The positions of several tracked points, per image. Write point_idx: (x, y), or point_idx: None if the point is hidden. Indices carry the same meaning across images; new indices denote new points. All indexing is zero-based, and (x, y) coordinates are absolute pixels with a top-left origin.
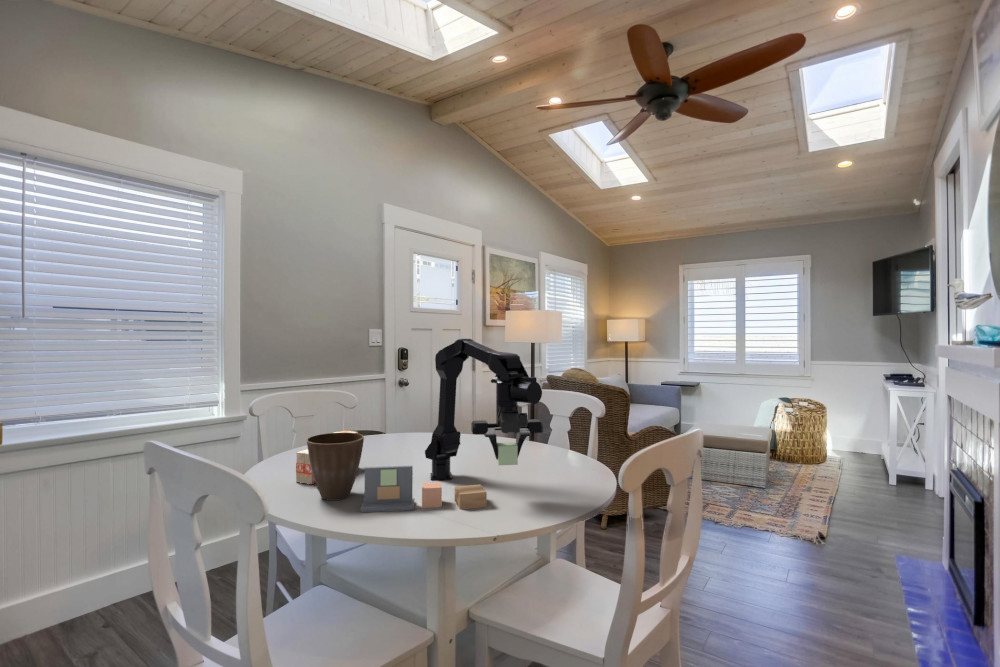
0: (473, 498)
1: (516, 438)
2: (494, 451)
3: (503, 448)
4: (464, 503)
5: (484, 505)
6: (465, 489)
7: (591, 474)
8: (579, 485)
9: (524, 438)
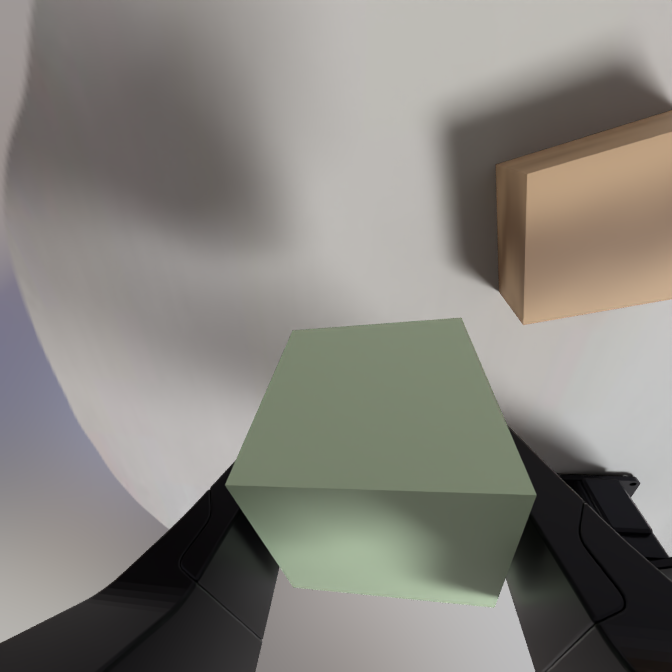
0: (613, 139)
1: (256, 632)
2: (538, 458)
3: (442, 457)
4: (666, 118)
5: (512, 160)
6: (657, 233)
7: (138, 465)
8: (142, 398)
9: (73, 615)
